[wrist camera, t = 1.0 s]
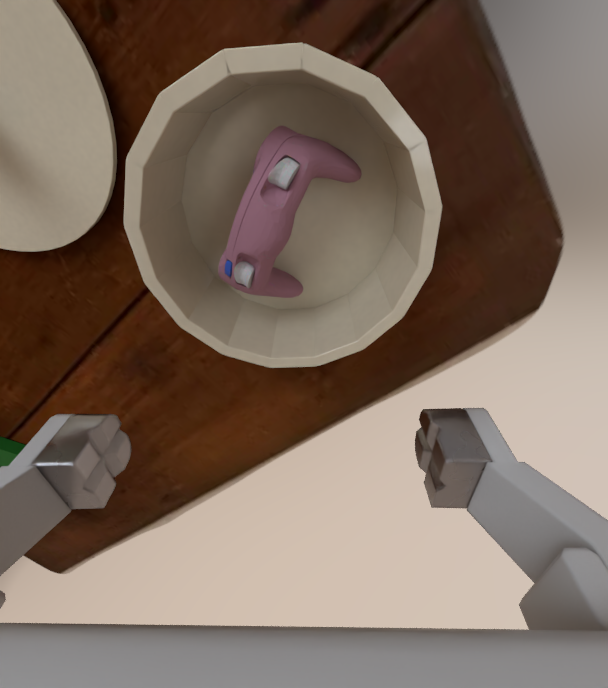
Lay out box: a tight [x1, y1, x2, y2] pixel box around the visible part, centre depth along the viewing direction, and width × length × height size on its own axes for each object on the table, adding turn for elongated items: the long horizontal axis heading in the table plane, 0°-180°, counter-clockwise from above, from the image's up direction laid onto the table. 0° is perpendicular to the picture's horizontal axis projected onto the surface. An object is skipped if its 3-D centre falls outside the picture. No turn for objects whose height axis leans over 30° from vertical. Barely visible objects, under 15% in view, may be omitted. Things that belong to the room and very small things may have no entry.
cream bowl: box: [124, 43, 442, 368], centre depth 20 cm, size 16×16×7 cm
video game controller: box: [218, 126, 362, 298], centre depth 20 cm, size 10×5×7 cm, turn 155°
